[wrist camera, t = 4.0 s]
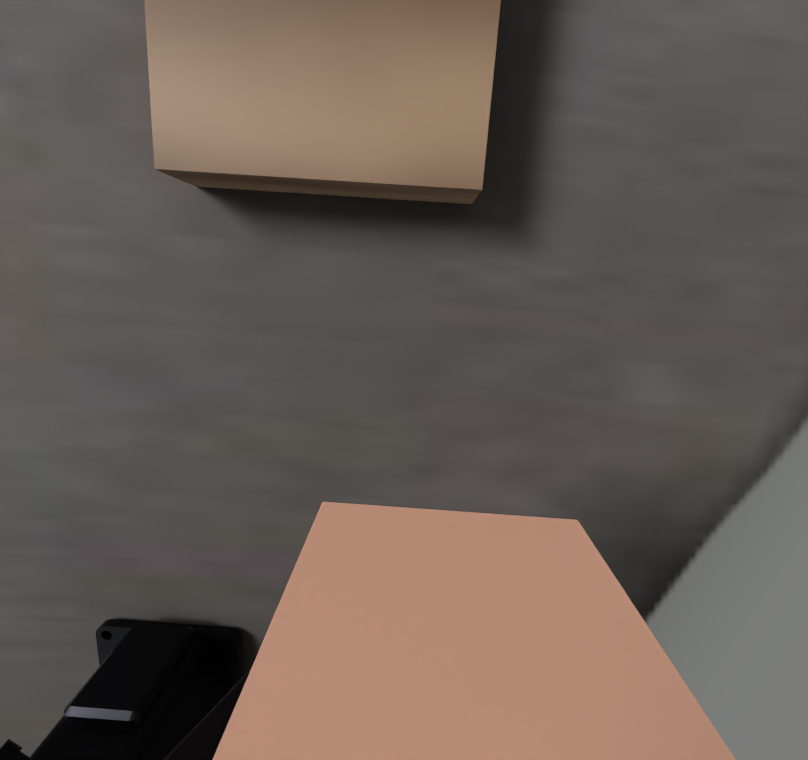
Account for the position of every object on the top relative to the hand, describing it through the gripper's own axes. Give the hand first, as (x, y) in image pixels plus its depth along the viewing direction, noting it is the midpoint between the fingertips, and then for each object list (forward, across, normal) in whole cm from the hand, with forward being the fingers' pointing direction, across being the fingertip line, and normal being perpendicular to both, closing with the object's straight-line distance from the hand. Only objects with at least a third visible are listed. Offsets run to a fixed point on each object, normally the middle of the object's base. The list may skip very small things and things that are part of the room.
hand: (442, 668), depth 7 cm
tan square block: (+11, +4, -14) cm, 18 cm away
